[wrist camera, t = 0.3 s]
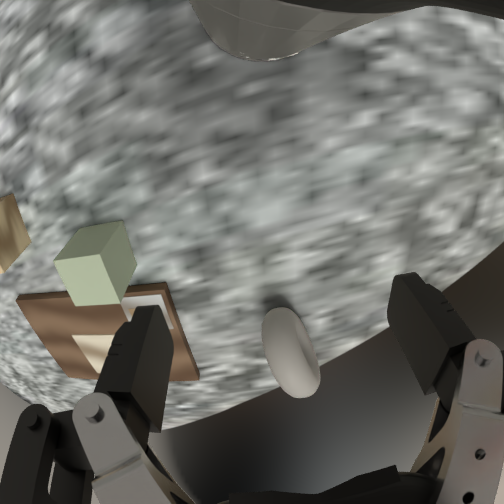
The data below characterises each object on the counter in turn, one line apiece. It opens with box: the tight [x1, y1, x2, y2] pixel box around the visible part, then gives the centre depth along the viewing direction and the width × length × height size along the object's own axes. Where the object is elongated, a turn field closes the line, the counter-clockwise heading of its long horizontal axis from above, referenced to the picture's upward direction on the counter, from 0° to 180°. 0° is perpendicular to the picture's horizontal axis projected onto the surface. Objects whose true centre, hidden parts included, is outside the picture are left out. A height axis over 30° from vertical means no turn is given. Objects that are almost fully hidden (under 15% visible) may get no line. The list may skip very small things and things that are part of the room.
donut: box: [262, 307, 320, 398], centre depth 29 cm, size 10×4×10 cm, turn 28°
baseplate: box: [16, 282, 200, 381], centre depth 34 cm, size 16×22×1 cm
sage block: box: [53, 220, 137, 306], centre depth 25 cm, size 5×5×6 cm
